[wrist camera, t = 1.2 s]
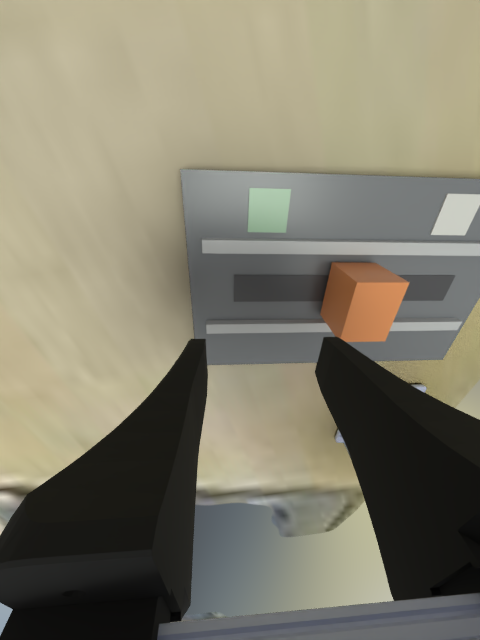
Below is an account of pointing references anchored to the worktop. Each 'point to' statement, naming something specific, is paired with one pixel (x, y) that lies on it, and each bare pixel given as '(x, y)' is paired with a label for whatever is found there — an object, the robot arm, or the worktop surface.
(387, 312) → the knob
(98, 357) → the worktop surface
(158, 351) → the worktop surface
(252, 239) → the panel
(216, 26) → the worktop surface
